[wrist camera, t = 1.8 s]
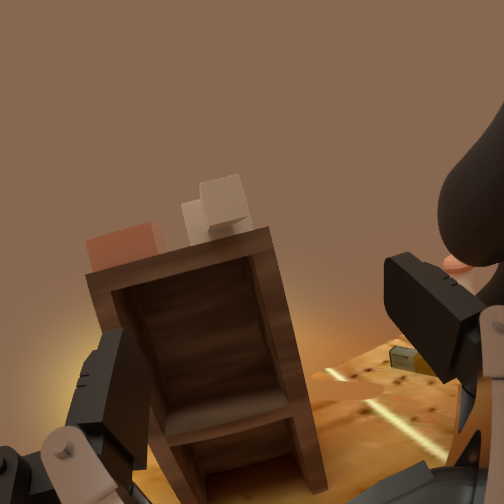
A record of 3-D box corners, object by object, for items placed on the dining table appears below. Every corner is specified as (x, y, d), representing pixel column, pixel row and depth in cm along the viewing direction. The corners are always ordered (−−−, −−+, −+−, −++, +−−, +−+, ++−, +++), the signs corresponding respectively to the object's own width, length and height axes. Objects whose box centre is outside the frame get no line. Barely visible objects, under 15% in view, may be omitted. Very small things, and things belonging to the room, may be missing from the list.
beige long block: (281, 223, 20) (265, 159, 19) (183, 248, 19) (167, 182, 18) (242, 232, 39) (234, 200, 39) (193, 245, 39) (185, 212, 38)
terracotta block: (158, 254, 28) (150, 222, 28) (93, 272, 27) (85, 240, 27) (166, 252, 35) (160, 225, 35) (113, 266, 34) (106, 240, 34)
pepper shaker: (464, 329, 60) (456, 245, 58) (486, 335, 53) (480, 245, 51) (442, 341, 58) (433, 254, 57) (465, 350, 51) (458, 255, 50)
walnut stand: (328, 489, 31) (268, 226, 29) (193, 523, 28) (84, 274, 26) (301, 441, 43) (249, 230, 40) (193, 469, 40) (117, 265, 38)
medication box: (389, 368, 57) (387, 350, 57) (397, 361, 58) (395, 344, 58) (440, 379, 46) (439, 360, 46) (447, 371, 48) (446, 352, 47)
